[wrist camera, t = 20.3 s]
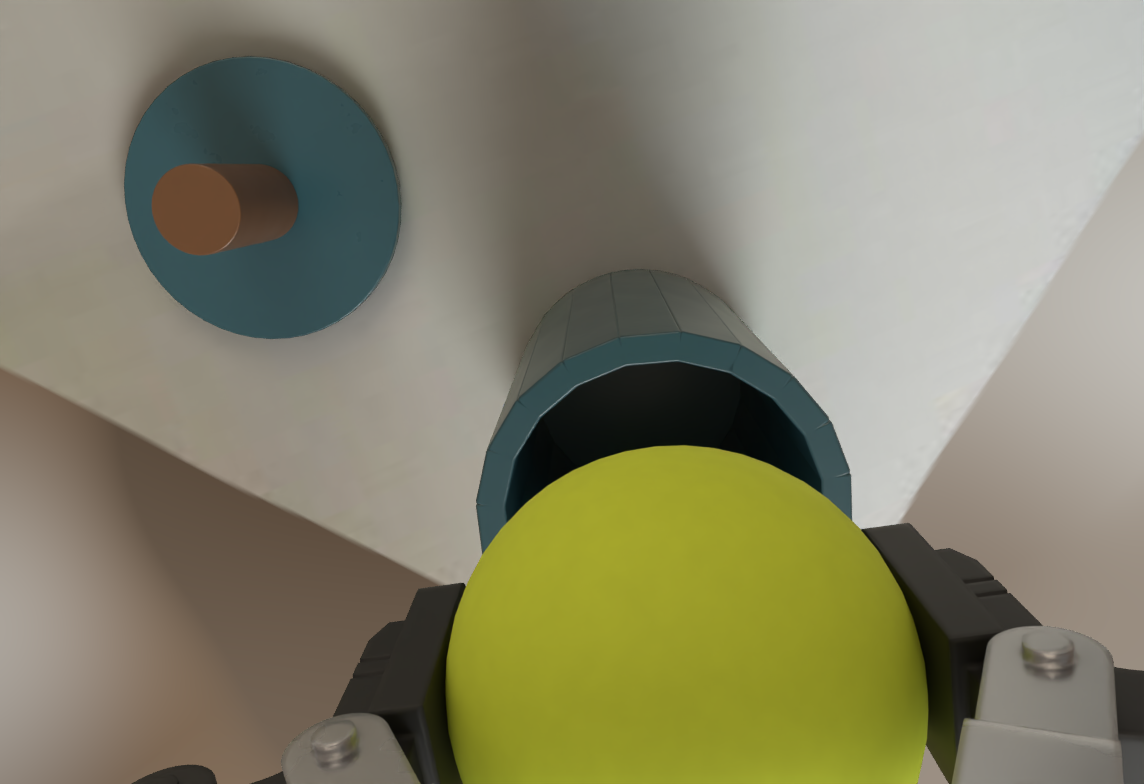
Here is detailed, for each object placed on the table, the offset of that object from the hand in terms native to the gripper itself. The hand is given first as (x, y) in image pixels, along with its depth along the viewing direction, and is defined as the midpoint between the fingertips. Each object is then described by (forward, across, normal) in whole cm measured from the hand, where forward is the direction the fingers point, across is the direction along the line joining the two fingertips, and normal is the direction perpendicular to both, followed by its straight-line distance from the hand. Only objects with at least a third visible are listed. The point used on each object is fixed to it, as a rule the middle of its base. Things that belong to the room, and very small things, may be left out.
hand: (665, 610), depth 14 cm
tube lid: (+23, +13, -8) cm, 28 cm away
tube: (+24, -1, +2) cm, 24 cm away
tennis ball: (-2, 0, 0) cm, 2 cm away
